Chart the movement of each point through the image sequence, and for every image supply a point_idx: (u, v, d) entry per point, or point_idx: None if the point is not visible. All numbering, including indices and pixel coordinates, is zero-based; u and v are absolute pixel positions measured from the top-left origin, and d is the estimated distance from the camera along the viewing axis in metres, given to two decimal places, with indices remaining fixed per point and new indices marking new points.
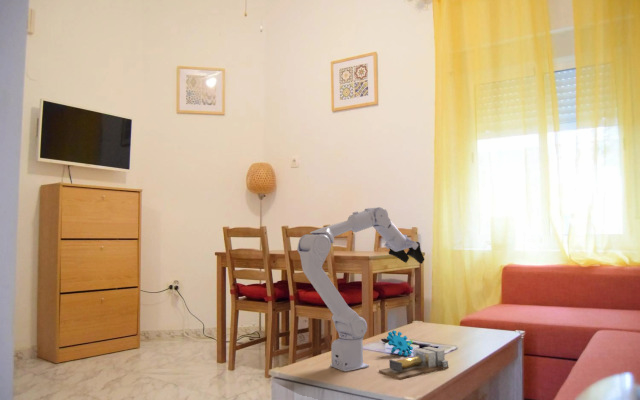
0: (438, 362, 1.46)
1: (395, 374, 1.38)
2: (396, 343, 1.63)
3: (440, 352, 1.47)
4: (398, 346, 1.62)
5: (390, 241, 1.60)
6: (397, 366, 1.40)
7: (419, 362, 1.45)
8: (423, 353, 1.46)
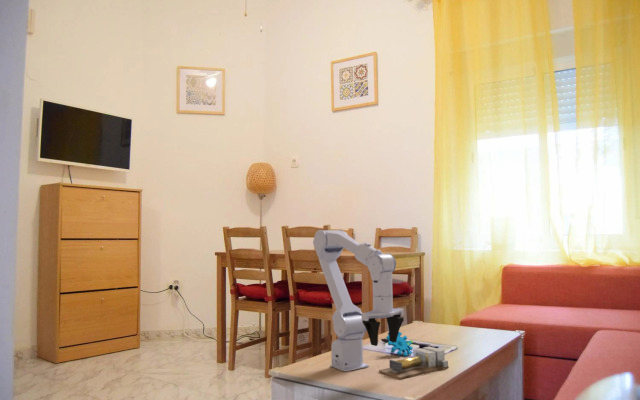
0: (438, 362, 1.46)
1: (395, 374, 1.38)
2: (396, 343, 1.63)
3: (440, 352, 1.47)
4: (398, 346, 1.62)
5: None
6: (397, 366, 1.40)
7: (419, 362, 1.45)
8: (423, 353, 1.46)
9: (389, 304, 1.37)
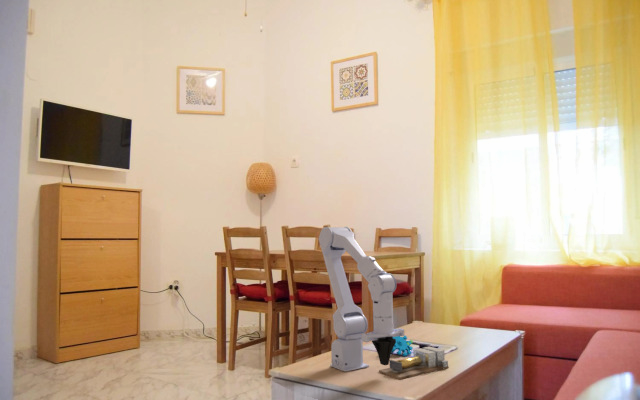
0: (438, 362, 1.46)
1: (395, 374, 1.38)
2: (395, 343, 1.63)
3: (440, 352, 1.47)
4: (397, 346, 1.62)
5: None
6: (397, 366, 1.40)
7: (419, 362, 1.45)
8: (423, 353, 1.46)
9: (390, 325, 1.37)
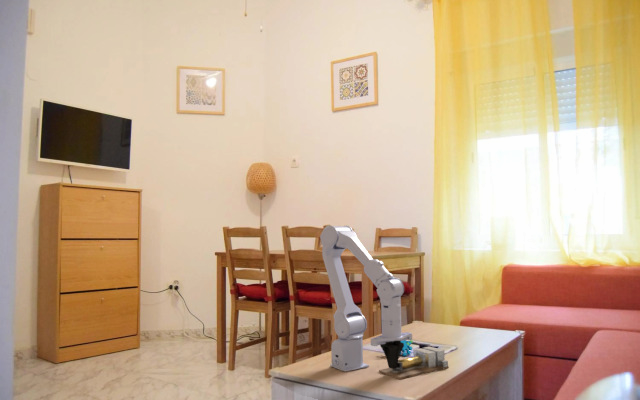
0: (438, 362, 1.46)
1: (395, 374, 1.38)
2: None
3: (440, 352, 1.47)
4: None
5: None
6: (398, 366, 1.40)
7: (420, 362, 1.45)
8: (423, 353, 1.46)
9: (398, 329, 1.39)
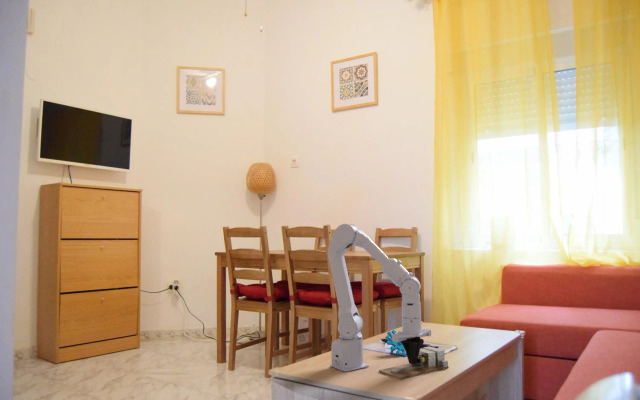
0: (438, 362, 1.46)
1: (395, 374, 1.38)
2: (395, 343, 1.63)
3: (440, 352, 1.47)
4: (397, 346, 1.62)
5: None
6: (418, 361, 1.44)
7: None
8: (423, 353, 1.46)
9: (418, 326, 1.43)
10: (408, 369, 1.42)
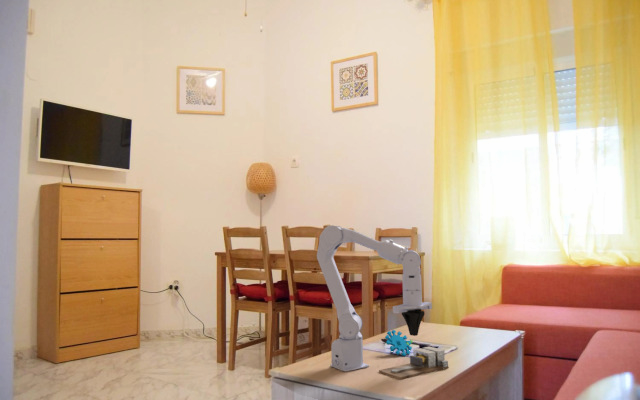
0: (438, 362, 1.46)
1: (395, 374, 1.38)
2: (394, 342, 1.63)
3: (440, 352, 1.47)
4: (396, 345, 1.63)
5: None
6: (418, 361, 1.44)
7: None
8: (423, 353, 1.46)
9: (419, 298, 1.45)
10: (408, 369, 1.42)
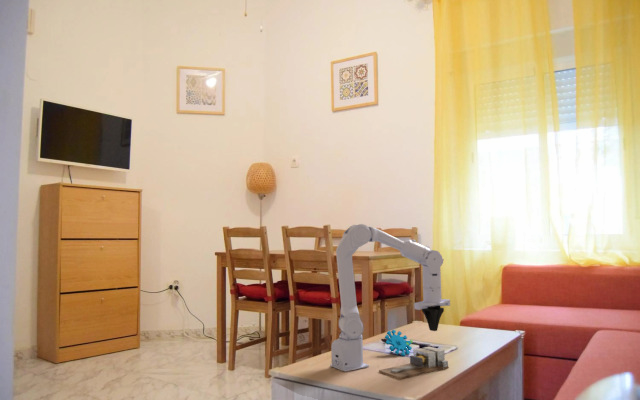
0: (438, 362, 1.46)
1: (395, 374, 1.38)
2: (394, 342, 1.64)
3: (440, 352, 1.47)
4: (396, 345, 1.63)
5: None
6: (418, 361, 1.44)
7: None
8: (423, 353, 1.46)
9: (439, 295, 1.52)
10: (408, 369, 1.42)
